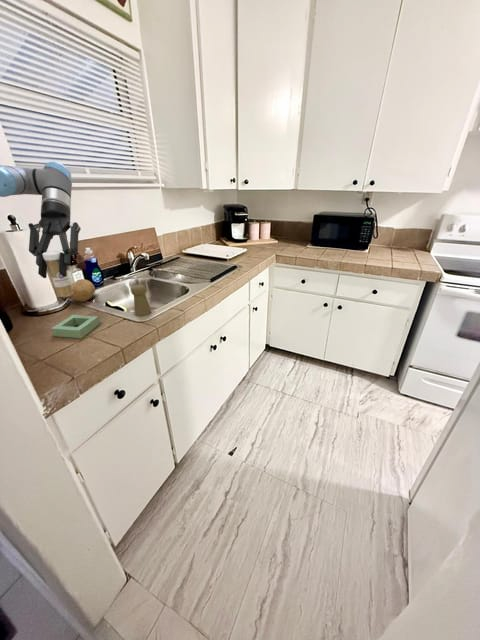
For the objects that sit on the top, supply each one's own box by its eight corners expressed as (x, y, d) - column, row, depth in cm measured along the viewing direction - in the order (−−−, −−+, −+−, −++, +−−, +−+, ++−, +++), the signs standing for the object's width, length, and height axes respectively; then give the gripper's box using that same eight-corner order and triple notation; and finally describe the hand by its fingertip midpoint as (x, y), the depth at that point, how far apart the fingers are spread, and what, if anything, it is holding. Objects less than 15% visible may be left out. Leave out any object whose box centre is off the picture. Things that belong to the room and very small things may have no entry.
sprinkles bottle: (63, 298, 79) (48, 254, 73) (53, 296, 81) (38, 253, 74) (77, 293, 83) (64, 251, 76) (67, 291, 84) (54, 249, 78)
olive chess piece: (134, 310, 103) (128, 284, 98) (150, 307, 106) (145, 282, 100) (135, 316, 99) (129, 289, 93) (151, 314, 101) (147, 287, 95)
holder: (54, 336, 86) (51, 328, 85) (75, 322, 95) (72, 314, 94) (81, 338, 85) (79, 330, 84) (100, 323, 94) (98, 316, 92)
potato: (66, 307, 106) (60, 289, 102) (76, 295, 118) (71, 278, 114) (92, 305, 108) (87, 287, 104) (99, 293, 120) (95, 276, 116)
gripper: (91, 215, 87) (90, 279, 80) (31, 217, 83) (26, 283, 77) (82, 199, 79) (80, 267, 73) (16, 199, 76) (8, 270, 70)
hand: (52, 275), depth 75 cm, fingers closed on sprinkles bottle, 5 cm apart
